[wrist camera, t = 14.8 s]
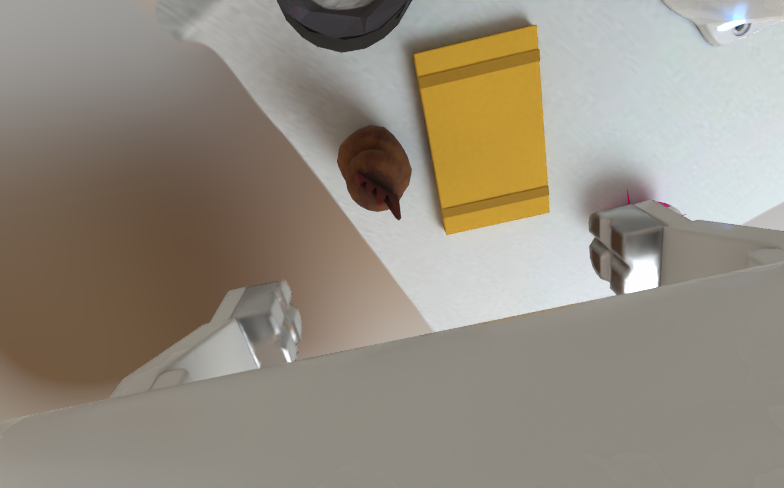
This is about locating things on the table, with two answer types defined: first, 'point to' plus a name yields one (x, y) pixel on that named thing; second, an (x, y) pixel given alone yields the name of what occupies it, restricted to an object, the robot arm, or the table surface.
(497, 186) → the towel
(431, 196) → the table surface
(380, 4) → the portable speaker
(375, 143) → the wooden figurine
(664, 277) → the robot arm
